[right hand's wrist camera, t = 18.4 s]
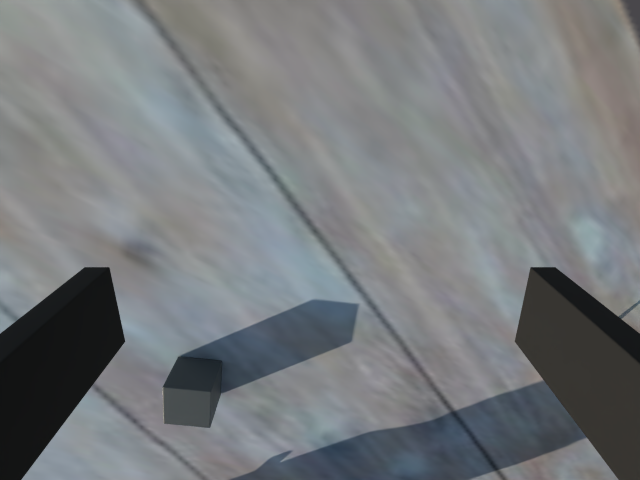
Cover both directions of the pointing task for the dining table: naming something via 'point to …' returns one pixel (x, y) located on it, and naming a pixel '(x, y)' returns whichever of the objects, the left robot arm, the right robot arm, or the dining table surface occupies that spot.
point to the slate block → (192, 392)
